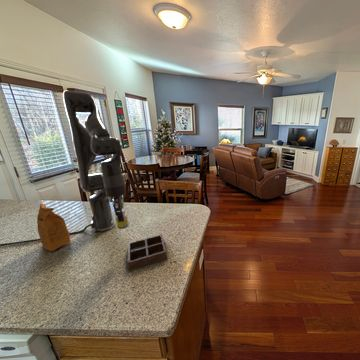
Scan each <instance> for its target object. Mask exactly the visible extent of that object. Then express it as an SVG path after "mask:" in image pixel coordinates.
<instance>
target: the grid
mask: <svg viewBox="0 0 360 360" xmlns="http://www.w3.org/2000/svg"><path fill="white" fill-rule="evenodd" d="M167 259H168V255H167V249H166V245H165V241H164V238H163V234H158V235H154V236H150V237H146V238H143V239H139V240H135V241H129V242H128V243H127V267H128V271H132V270H136V269H139V268H142V267H145V266H148V265H152V264H155V263H158V262H162V261H165V260H167Z"/></svg>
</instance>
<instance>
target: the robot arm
mask: <svg viewBox="0 0 360 360" xmlns="http://www.w3.org/2000/svg"><path fill="white" fill-rule="evenodd" d="M62 97H63V98H62V99H63V104H64V107H65V112H66V116H67V118H68V122H69V126H70V131H71V132H70V133H71V137H72V145H73V149H74V153H75V157H76V162H77V167H78V175H79V182H80V188H81V189H82V191H83V192H84V193H92V192H95V193H94V194H93V195H91V196H89V197H88V204H89V208H90V212H91V214H92V215H91V221H90V224H88V225H85V227H84V228H83V229H81V230H77V231H71V232H69V236H70V235H77V234H80V233H83V232H85V231H86V230H87V228H89V227H91V229H94V232H104V231H108V230H110V229H111V230H112V228H114V227H115V218H114V217H113V212H112V208H111V204H110V203H112V207H113V210H114V213H115V214H114V215H115V216H116V215H117V217H118V222H123V221H124V217H123V210H122V209H125V207H124V206H125V202H124V196H123V195H125V194H126V193H127V188H126V184H125V178H124V176H123V172H122V166H121V158H122V151H123V144H122V142H121V140H120V139H118V138H117V137H114V136H113V137H111V134H110V131H109V130H108V128H107V127H106V125H105V123H104V121H103V119H102V116H101V113H100V110H99V107H98V105H97V102H96V100H95V98H94V96H93V95H92V94H91V93H88V92H82V91H74V90H73V91H72V90H64V91H63V92H62ZM78 114H88V116H87V117H86V119H85V121H84V124H83V123H82V122H81V121H80V119H79V116H78ZM97 156H98V157H103V156H111V157H110V158H109V159H106V160H104V161H101V162H100V170H101V173H100V172H99V173H93V174H89V173H90V169H91V166H92V164H93V163H94V161H95V160H96V158H97ZM96 191H97V192H96ZM109 198H112V199H111V202H110V199H109ZM117 211H120V212H117ZM38 241H41V240H40V238H34V239H27V240H20V241H13V242H6V243H0V247H5V246H12V245H17V244H18V245H19V244H25V243H33V242H38Z"/></svg>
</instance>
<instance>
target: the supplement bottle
mask: <svg viewBox="0 0 360 360" xmlns="http://www.w3.org/2000/svg"><path fill="white" fill-rule="evenodd" d="M122 210H123V217H124V221H123V222H118V217H117V215H115V216H114V217H115V218H114V220H115V223H116V227H117V229H118V230H125V229H127V228H128V227H129V226H130V223H129V219H128V213H127V212H126V209H125V208H123V209H122ZM117 212H120V211H117Z"/></svg>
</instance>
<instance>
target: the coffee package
mask: <svg viewBox="0 0 360 360" xmlns="http://www.w3.org/2000/svg"><path fill="white" fill-rule="evenodd" d="M54 210H55V208H54V207H47V204H44V203H40V205H39V209H38V213H37V217H36V221H37V222H36V223H37V233H38V236H39V239H40V240H39V241H40V243H41V245H42V247H43V248H44V249H45V250H46V251H50V252H55V250H57V249H59V248H61V247H63V246H66V245H68V244H69V243H71V242H72V241H71V237H70V235H69V233H70V231H69V229H68V227H67V224H66V220H65V219H64V217H62V216H61V215H59V214H57V213H55V212H54Z"/></svg>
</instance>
